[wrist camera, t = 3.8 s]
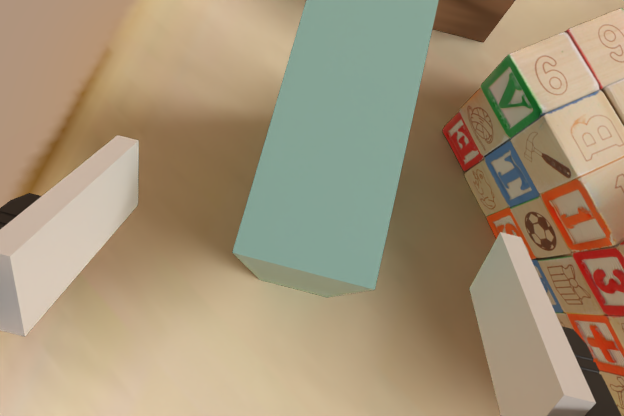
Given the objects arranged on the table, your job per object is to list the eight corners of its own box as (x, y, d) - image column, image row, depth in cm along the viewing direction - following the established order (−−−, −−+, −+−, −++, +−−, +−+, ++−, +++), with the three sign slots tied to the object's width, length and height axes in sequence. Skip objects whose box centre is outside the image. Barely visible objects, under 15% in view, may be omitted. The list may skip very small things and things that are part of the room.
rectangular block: (366, 137, 28) (443, -20, 15) (327, 297, 26) (374, 289, 12) (303, 121, 28) (321, -52, 15) (259, 279, 26) (231, 252, 12)
